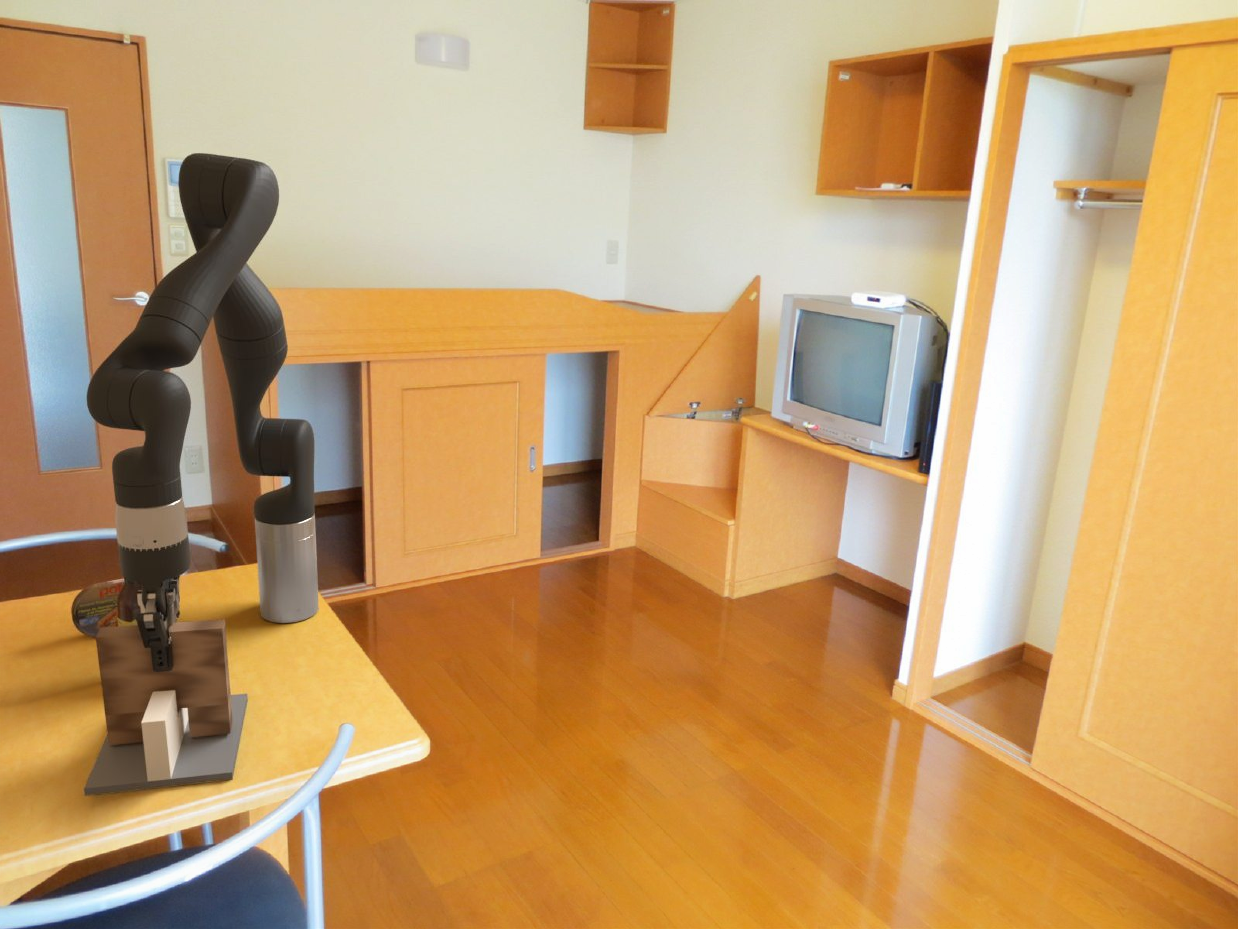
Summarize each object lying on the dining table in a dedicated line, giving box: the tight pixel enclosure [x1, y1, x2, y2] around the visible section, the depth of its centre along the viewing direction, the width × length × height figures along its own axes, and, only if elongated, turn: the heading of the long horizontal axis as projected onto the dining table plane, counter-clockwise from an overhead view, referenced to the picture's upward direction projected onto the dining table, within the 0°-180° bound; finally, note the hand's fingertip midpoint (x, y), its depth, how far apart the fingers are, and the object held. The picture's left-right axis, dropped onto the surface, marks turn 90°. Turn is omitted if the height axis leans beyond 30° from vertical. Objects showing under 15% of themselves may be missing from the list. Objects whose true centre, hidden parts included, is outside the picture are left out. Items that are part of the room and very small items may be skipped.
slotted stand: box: [83, 690, 249, 796], centre depth 115 cm, size 18×16×9 cm
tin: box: [70, 577, 181, 639], centre depth 143 cm, size 15×3×8 cm, turn 126°
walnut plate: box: [95, 618, 233, 745], centre depth 114 cm, size 14×2×15 cm, turn 106°
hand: (165, 663), depth 113 cm, fingers closed on walnut plate, 2 cm apart
